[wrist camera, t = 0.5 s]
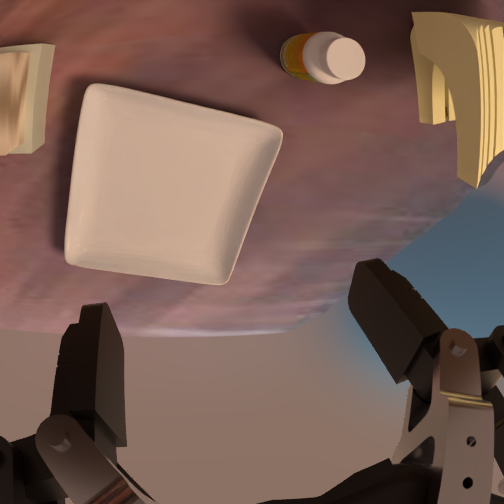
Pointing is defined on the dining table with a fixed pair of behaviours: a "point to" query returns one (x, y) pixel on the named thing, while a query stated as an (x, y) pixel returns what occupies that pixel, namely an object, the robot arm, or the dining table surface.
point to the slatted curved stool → (462, 83)
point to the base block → (35, 93)
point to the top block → (12, 99)
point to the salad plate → (164, 185)
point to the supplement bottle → (322, 57)
